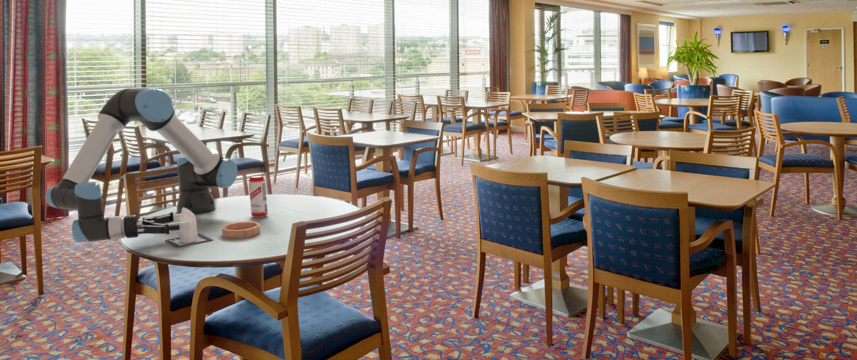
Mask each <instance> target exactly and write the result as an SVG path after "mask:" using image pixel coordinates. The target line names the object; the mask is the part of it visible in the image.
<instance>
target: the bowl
mask: <svg viewBox="0 0 857 360" xmlns="http://www.w3.org/2000/svg"><path fill="white" fill-rule="evenodd" d="M221 229H222V235H223V237H224V238H227V239H246V238H251V237H255V236H257V235H259V234H260V232H261V223H259V222H257V221H237V222H233V223H232V222H231V223H227V224H226V225H223V226H222V228H221Z"/></svg>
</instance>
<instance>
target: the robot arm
mask: <svg viewBox="0 0 857 360" xmlns="http://www.w3.org/2000/svg"><path fill="white" fill-rule="evenodd" d="M175 113H176V111H175V108H174V104H173V100H172V98H171V95H169V94H168V92H166V91H165V90H162V89H160V88H154V87H143V88H141V87H139V88H130V87H129V88H124V89H120V90H119V91H117V92H115V94H114V95H112V96H111V97H110V98H109V99H108V100H107V102H106V103H105V104H104V105H103V107H102V108H101V109H100V111H99V113H98V114H97V119H98V120H97V122H96V124H95V125H94V126H93V128H92V129H91V132H90V133H89V134H88V136H87V138H86V139H85V141H84V142H83V145H81V148H80V149H79V151H78V153H77V154H76V155H75V158H73V160H72V162H71V164H70V165H69V167H68V169H67V171H66V172H65V174H63V177H62V178H61V179H60V181H59V183H58V184H57V185H54V186H53V185H52V186H51V187H49V188H48V189H47V190H46V192H45V201H46V203H47V204H48V205H49V206H50V207H51V208H55V209H59V210H71V211H77V216H78V219H75V220H73V221H72V223H71V234H72V238H73V240H74V241H75V242H77V243H85V242H86V243H92V242H99V241H109V240H115V241H119V240H121V239H125V238H126V239H133V238H138V236H140V235H143V234H144V235H145V234H149V235H151V234H154V235H155V234H156V235H166V236H167V235H171V232H179V231H183V230H191V226H190V221H189V222H178V218H179V216H180V214H181V211H182V208H183V207H185V208H186V209H188V210H190V211H191V212H192V213H193V214H194V215H195V214H203V213H207V212H211V211H213V210H214V211H215V209H216V202H215V199H214V197H213V195H212V194H211V190H210V187H211V188H219V189H223V188H225V189H226V188H230V187H231V186H233V184H235V182H236V180H237V177H238V166H237V164H236V162H235V161H234V160H233V159H231V158H228V157H227V158H225V157H224V156H222V155H221V153H219V152H218V151H217V150H215V149H210V148H209V147H208V146H207V145H206V144H205V143H203V142H202V140H201V139H200V138H198V137H197V136H196V135H195V134H194V132H192V130H191V129H190V128H189V127H187V126H186V125H185V124H184V123H183V122H182V121H181V120H180V118H178V117H177V116H176V115H175ZM130 122H139V123H141V124H142V125H144V127H146V129H147V130H149V131H151V132H157V133H158V134H159V135H160V136H161V137H163V139H165V140H166V141H167V142H168V143H169V144H170V145H171V146H172V147H173V148H174V149H175V150H177V152H179V153H180V154H181V155H182V156H179V157H177V159H176V170H177V171H176V172H177V180H178V189H179V190H178V191H179V195H178V199H177V205H176V212H177V213H174V212H173V211H171V212H169V213H164V214H159V215H154V216H153V215H152V216H148V217H147V216H146V217H142V219H141V220H138V219H139V218H138V216H137V214H131V215H130V214H129V215H125V216H123V215H118V216H117V215H116V216H109V217H105V214H104V205H103V193H102V190H101V185H100V183H98V182H95V181H90V179H92V176H93V175H94V173H95V172H96V170H97V169H98V167H99V164H100V163H101V162H102V160H103V158H104V157H105V155H106V153H107V152H108V150H109V149H110V147H111V145H112V143H113V142H114V140H115V138H116V137H117V135H118V134H119V132H120V131H124V129H125V127H126V126H127V125H128V124H129V123H130ZM178 212H179V213H178Z"/></svg>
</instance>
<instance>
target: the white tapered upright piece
mask: <svg viewBox="0 0 857 360" xmlns="http://www.w3.org/2000/svg"><path fill="white" fill-rule="evenodd" d="M179 214H180V216H179V218H178V222H189V221H190V226H191V230H183V231H178V232H179V237H180V239H179V240H180V243H183V244H189V243H194V242H198V241H199V236H198V235H197V233H198V229H197V228H198V227H197V218H196V215H195V214H193V213H192V212H191V211H190V210H188V209H186V208H185V207H183V208H182V211H181V213H179ZM178 222H177V223H178Z"/></svg>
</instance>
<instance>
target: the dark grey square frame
mask: <svg viewBox="0 0 857 360" xmlns="http://www.w3.org/2000/svg"><path fill="white" fill-rule="evenodd" d="M197 235H198V237H201V238H203V239H205V240H198V241H195V242H190V243H183V244H178V243H176V242H174V241H176V240H175V239H177V240H180V236H177V237H172V238H169V239H165V240H164V241H165V242H166V241H167V242H166V243H168V244H170V245H172V246H174V247H176V248H178V247H179V248H184V247H187V246H194V245H197V244H198V245H199V244H202V243H207V242H212V241H214V239H213V238H211V237H208V236H206V235H205V234H202V233H200V232H199V233H198V232H197ZM170 240H172V241H170Z"/></svg>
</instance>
